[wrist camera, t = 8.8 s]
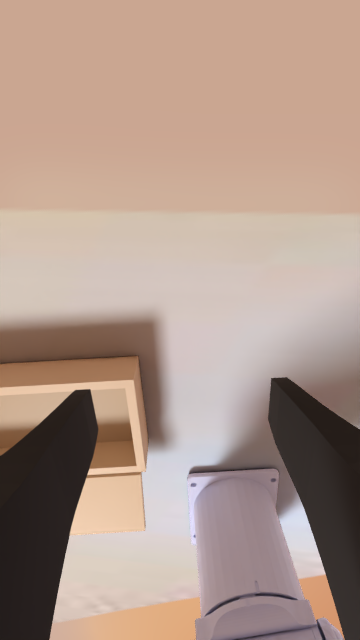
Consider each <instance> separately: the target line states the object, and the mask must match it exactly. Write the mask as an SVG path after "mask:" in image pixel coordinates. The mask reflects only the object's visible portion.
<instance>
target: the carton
mask: <svg viewBox="0 0 360 640" xmlns="http://www.w3.org/2000/svg"><path fill="white" fill-rule="evenodd" d="M83 389H90V390H91V395H92V399H93V404H94V409H95V414H96V419H97V424H98V429H99V430H98V435H97V441H96V446H95V451H94V455H93V459H92V462H91V465H90V468H89V471H88V474H87V475H97V474H113V473H130V472H146V463H147V452H148V432H147V424H146V416H145V408H144V399H143V391H142V383H141V375H140V366H139V358H138V356H126V357H109V358H92V359H75V360H58V361H41V362H24V363H7V364H0V456H1V455H2V454H4V453H5V452H6V451H8V450H9V449H10V448H11V447H13V446H14V445H15V444H16V443H18V442H19V441H20V440H21V439H22V438H24V437H25V436H26V435H27V434H28V433H29V432H30V431H32V430H33V429H34V428H35V427H36V426H37V425H39V424H40V423H41V422H42V421H43V420H44V419H45V418H46V417H47V416H48V415H49V414H50V413H51V412H52V411H54V410H55V409H56V408H57V407H58V406H59V405H60V404H61V403H62V402H63V401H64V400H65V399H66V398H67V397H68V396H69V395H70V394H71V393H72V392H73V391H75V390H83Z"/></svg>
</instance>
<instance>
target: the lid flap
mask: <svg viewBox="0 0 360 640" xmlns="http://www.w3.org/2000/svg"><path fill="white" fill-rule="evenodd" d="M145 526H146V525H145V512H144V499H143V487H142V474H141V472H130V473H113V474H97V475H87V477H86V481H85V484H84V487H83V490H82V493H81V496H80V499H79V502H78V505H77V508H76V512H75V515H74V519H73V522H72V526H71V531H70V535H84V534H100V533H116V532H132V531H145Z"/></svg>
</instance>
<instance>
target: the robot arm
mask: <svg viewBox="0 0 360 640" xmlns="http://www.w3.org/2000/svg"><path fill="white" fill-rule="evenodd" d="M268 420H269V423H270V427H271V430H272V434H273V437H274V440H275V443H276V445H277V448H278V450H279V452H280V454H281V457H282V459H283V461H284V463H285V466H286V468H287V470H288V472H289V475H290V477H291V479H292V481H293V483H294V486H295V488H296V490H297V492H298V494H299V497H300V499H301V502H302V504H303V507H304V509H305V512H306V515H307V518H308V521H309V524H310V527H311V530H312V533H313V536H314V539H315V542H316V545H317V548H318V551H319V554H320V557H321V560H322V563H323V567H324V570H325V573H326V576H327V580H328V583H329V586H330V589H331V593H332V596H333V599H334V603H335V606H336V610H337V613H338V616H339V620H340V624H341V627H342V631H343V635H344V638H345V640H360V429H358V428H356V427H355V426H353V425H352V424H350V423H349V422H347V421H346V420H344V419H343V418H341V417H339V416H338V415H336V414H335V413H334V412H332V411H331V410H329V409H328V408H327V407H325V406H324V405H322V404H321V403H320V402H318V401H317V400H316V399H314V398H313V397H312V396H310V395H309V394H308V393H307V392H305V391H304V390H303V389H301V388H300V387H299V386H298V385H296V384H295V383H294V382H292V381H291V380H290V379H288V378H287V377H285V378H271V391H270V403H269V416H268ZM98 430H99V429H98V424H97V419H96V414H95V409H94V404H93V399H92V395H91V390H90V389H83V390H75V391H73V392H72V393H71V394H70V395H69V396H68V397H67V398H66V399H65V400H64V401H63V402H62V403H61V404H60V405H59V406H58V407H57V408H56V409H55V410H54V411H52V412H51V413H50V414H49V415H48V416H47V417H46V418H45V419H44V420H43V421H42V422H41V423H40V424H39V425H37V426H36V427H35V428H34V429H33V430H32V431H30V432H29V433H28V434H27V435H26V436H25V437H24V438H22V439H21V440H20V441H19V442H18V443H16V444H15V445H14V446H13V447H11V448H10V449H9V450H8V451H6V452H5V453H4V454H2V455H1V456H0V640H49V638H50V632H51V626H52V621H53V615H54V610H55V604H56V599H57V593H58V588H59V583H60V578H61V573H62V568H63V563H64V558H65V553H66V549H67V544H68V540H69V535H70V531H71V526H72V522H73V519H74V515H75V512H76V508H77V505H78V502H79V499H80V496H81V493H82V490H83V487H84V484H85V481H86V477H87V474H88V471H89V468H90V465H91V462H92V459H93V455H94V451H95V446H96V441H97V435H98ZM187 481H188V498H189V514H190V531H191V543H192V544H193V545H195V546H196V550H197V564H198V578H199V592H200V607H201V618H198V619H196V620H195V627H196V640H344V639H343V637H342V635H341V633H340V632H339V630H338V629H337V628H335V627H334V626H333V625H332V624H330V623H329V622H328V620H327V619H326V618H320V619H317V620H316V621H317V623H316V621H315V617H314V615H313V611H312V608H311V605H310V602H309V600H305V598H304V595H303V592H302V589H301V586H300V583H299V580H298V577H297V574H296V571H295V568H294V564H293V561H292V558H291V555H290V552H289V549H288V546H287V543H286V540H285V537H284V534H283V531H282V528H281V524H280V521H279V518H278V515H277V512H276V501H277V492H278V483H279V472H278V470H277V469H257V470H241V471H224V472H208V473H192V474H190V475H188V477H187Z"/></svg>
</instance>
